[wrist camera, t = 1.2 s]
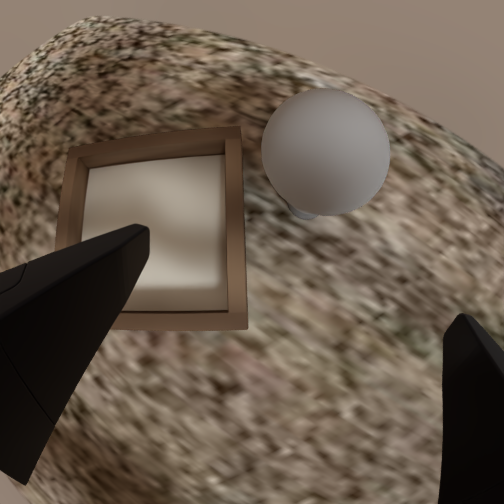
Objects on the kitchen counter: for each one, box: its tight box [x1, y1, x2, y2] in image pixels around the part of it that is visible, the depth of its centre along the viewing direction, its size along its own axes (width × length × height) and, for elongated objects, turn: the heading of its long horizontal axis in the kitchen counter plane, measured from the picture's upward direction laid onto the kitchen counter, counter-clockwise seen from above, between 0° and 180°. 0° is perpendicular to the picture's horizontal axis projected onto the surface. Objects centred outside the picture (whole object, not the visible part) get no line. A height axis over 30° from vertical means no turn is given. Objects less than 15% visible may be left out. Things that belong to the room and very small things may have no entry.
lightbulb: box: [261, 88, 390, 219], centre depth 17 cm, size 6×6×11 cm
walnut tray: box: [55, 126, 248, 331], centre depth 21 cm, size 13×13×3 cm
